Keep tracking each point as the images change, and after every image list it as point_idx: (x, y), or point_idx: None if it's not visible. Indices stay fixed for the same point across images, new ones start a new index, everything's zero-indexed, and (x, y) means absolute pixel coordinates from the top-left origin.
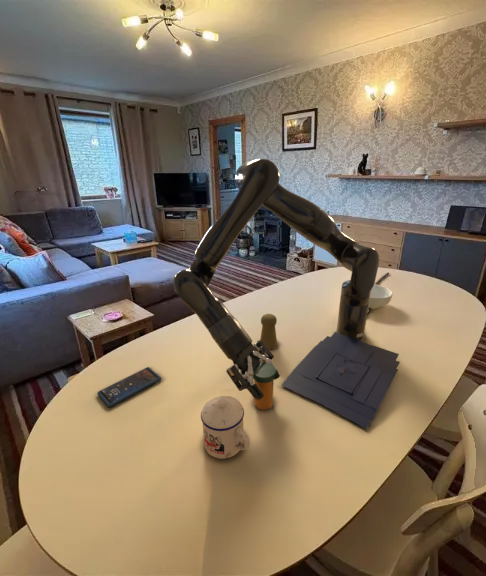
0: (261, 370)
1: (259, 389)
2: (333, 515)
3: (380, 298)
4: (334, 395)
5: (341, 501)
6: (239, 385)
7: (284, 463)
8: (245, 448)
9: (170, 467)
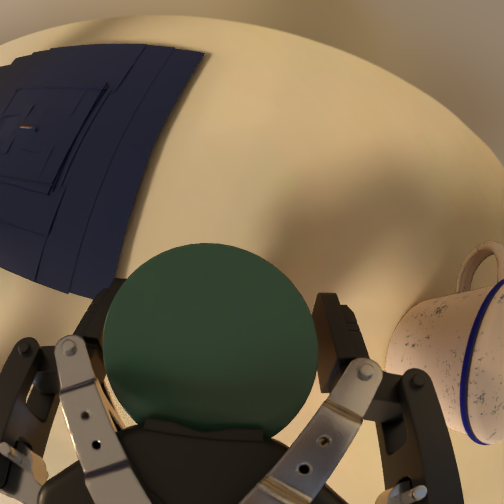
0: (228, 368)
1: (330, 320)
2: (413, 93)
3: None
4: (113, 120)
5: (388, 83)
6: (396, 426)
7: (399, 180)
8: (482, 254)
9: None
